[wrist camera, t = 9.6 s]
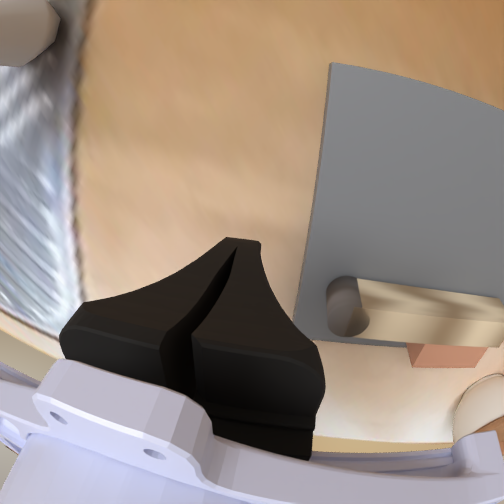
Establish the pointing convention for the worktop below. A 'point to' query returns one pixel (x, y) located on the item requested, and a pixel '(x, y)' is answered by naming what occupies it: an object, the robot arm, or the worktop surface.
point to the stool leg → (412, 314)
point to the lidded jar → (481, 409)
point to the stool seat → (404, 200)
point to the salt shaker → (25, 30)
